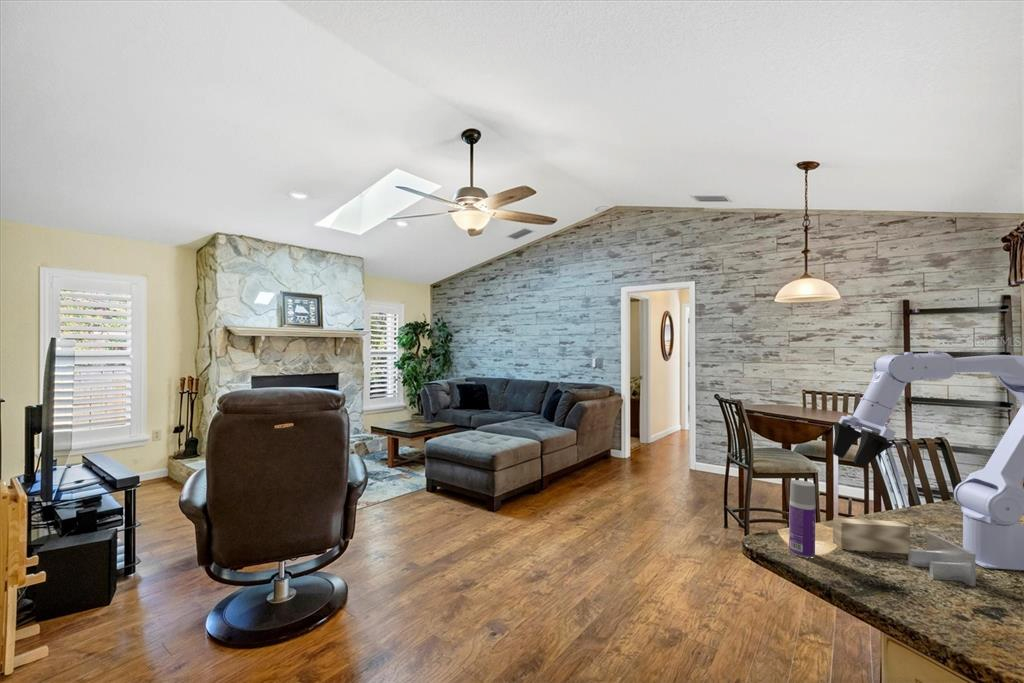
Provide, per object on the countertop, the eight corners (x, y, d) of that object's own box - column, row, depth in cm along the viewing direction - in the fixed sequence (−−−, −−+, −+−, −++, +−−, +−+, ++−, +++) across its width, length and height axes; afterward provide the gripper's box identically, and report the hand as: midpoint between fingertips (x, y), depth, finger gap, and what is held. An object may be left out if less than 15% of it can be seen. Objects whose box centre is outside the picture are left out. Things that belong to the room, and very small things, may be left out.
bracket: (933, 561, 95) (933, 532, 95) (978, 586, 85) (978, 554, 85) (901, 559, 95) (901, 530, 95) (941, 584, 85) (942, 551, 85)
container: (819, 559, 94) (819, 487, 94) (794, 557, 95) (795, 485, 95) (809, 550, 99) (810, 480, 99) (785, 547, 100) (786, 479, 100)
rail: (899, 548, 101) (899, 521, 101) (909, 554, 98) (910, 526, 98) (832, 544, 102) (833, 517, 103) (841, 550, 99) (841, 522, 100)
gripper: (838, 393, 107) (811, 444, 108) (882, 401, 92) (851, 461, 93) (867, 406, 106) (840, 457, 107) (916, 417, 92) (884, 476, 93)
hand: (847, 460), depth 100 cm, fingers open, 7 cm apart
